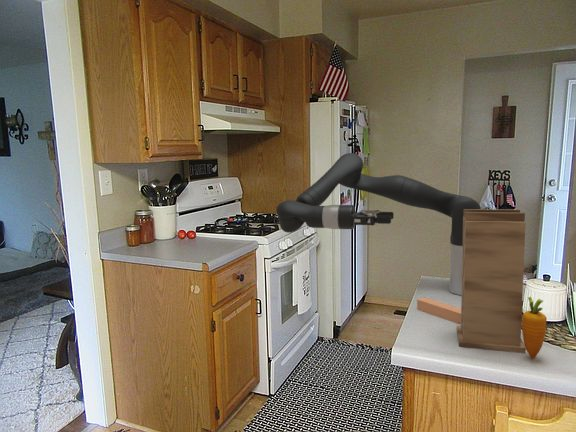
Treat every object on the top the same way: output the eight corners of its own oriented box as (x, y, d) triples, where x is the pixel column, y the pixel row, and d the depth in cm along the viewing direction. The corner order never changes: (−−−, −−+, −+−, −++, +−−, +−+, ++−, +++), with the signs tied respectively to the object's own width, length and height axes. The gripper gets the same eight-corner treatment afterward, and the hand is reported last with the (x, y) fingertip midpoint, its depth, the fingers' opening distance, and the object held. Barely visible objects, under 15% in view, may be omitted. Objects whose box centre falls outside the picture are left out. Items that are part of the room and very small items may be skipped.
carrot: (519, 352, 104) (521, 293, 102) (542, 355, 103) (545, 294, 100) (522, 361, 100) (524, 299, 98) (546, 364, 98) (549, 301, 96)
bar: (424, 307, 137) (424, 297, 137) (489, 329, 119) (489, 317, 119) (417, 310, 135) (417, 299, 135) (481, 332, 117) (482, 320, 117)
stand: (456, 329, 119) (459, 208, 114) (517, 334, 114) (522, 208, 109) (459, 346, 109) (461, 214, 104) (525, 353, 104) (531, 214, 99)
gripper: (333, 208, 126) (390, 208, 121) (343, 202, 140) (394, 202, 135) (334, 233, 127) (390, 234, 122) (343, 225, 141) (394, 225, 136)
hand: (392, 217), depth 128 cm, fingers open, 8 cm apart
